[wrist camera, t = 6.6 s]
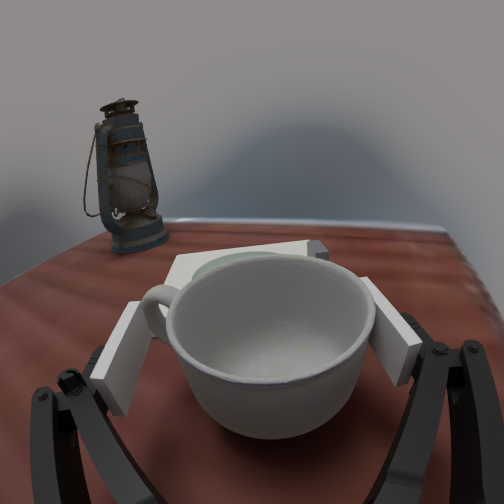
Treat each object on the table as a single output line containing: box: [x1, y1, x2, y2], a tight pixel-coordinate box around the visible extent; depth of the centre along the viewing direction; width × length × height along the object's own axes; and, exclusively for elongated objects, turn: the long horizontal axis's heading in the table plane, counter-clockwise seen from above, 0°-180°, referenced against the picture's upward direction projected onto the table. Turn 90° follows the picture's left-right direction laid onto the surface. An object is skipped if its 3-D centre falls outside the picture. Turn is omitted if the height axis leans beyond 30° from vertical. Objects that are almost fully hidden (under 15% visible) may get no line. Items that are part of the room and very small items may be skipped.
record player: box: [149, 240, 329, 337], centre depth 34 cm, size 20×18×4 cm
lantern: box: [83, 98, 169, 253], centre depth 51 cm, size 19×14×30 cm
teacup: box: [141, 254, 376, 439], centre depth 16 cm, size 14×11×8 cm
